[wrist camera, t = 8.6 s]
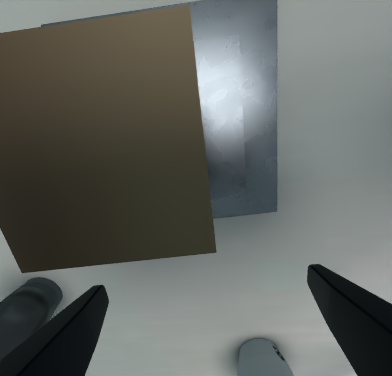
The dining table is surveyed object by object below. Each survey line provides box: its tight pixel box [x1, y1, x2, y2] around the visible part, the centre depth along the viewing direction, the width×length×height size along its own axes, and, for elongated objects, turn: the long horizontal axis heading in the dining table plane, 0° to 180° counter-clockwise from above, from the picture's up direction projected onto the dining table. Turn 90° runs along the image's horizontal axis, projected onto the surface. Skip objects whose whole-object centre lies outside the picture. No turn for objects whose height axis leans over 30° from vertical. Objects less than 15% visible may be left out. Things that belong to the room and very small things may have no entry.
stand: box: [41, 0, 277, 219], centre depth 16 cm, size 18×18×6 cm
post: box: [0, 4, 216, 273], centre depth 8 cm, size 4×4×10 cm
